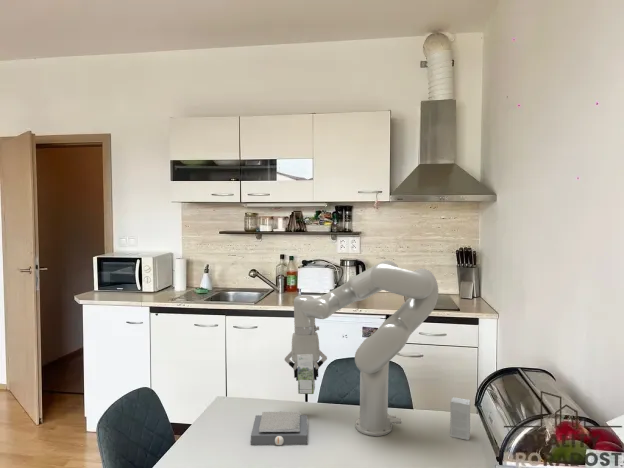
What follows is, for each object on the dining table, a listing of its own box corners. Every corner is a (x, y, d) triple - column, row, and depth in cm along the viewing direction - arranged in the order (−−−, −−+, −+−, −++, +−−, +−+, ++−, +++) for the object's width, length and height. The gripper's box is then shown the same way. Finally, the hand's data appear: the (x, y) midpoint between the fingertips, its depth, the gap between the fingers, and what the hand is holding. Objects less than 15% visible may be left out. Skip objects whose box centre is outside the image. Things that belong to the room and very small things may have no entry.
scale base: (307, 423, 153) (307, 415, 153) (307, 445, 138) (307, 436, 138) (255, 423, 153) (255, 415, 153) (250, 446, 138) (250, 436, 138)
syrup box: (315, 388, 161) (314, 349, 160) (313, 394, 155) (312, 354, 155) (300, 388, 161) (298, 349, 161) (297, 394, 156) (296, 354, 155)
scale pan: (299, 414, 152) (299, 411, 152) (299, 431, 140) (299, 428, 140) (262, 414, 152) (262, 411, 151) (259, 431, 140) (259, 428, 140)
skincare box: (470, 434, 146) (471, 399, 145) (469, 440, 142) (469, 404, 141) (451, 430, 148) (452, 396, 148) (449, 436, 144) (450, 401, 144)
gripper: (328, 326, 161) (329, 374, 162) (281, 328, 161) (283, 376, 162) (329, 332, 154) (330, 382, 155) (280, 333, 154) (282, 384, 154)
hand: (306, 378), depth 158 cm, fingers closed on syrup box, 6 cm apart
